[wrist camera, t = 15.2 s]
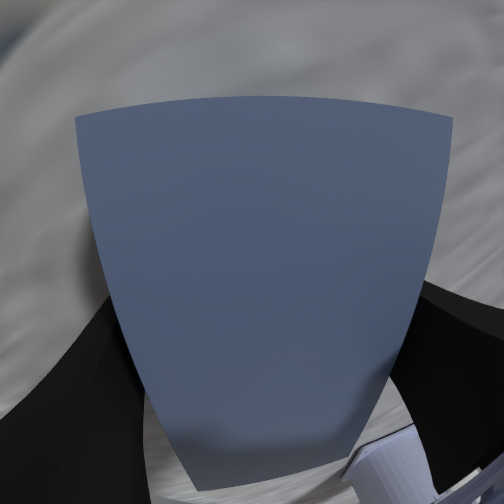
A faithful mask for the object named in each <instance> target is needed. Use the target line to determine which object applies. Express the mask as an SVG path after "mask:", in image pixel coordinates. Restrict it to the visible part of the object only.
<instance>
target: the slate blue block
mask: <svg viewBox="0 0 504 504" xmlns="http://www.w3.org/2000/svg"><path fill="white" fill-rule="evenodd" d="M75 123H76V133H77V142H78V150H79V157H80V164H81V171H82V177H83V183H84V189H85V194H86V199H87V205H88V210H89V214H90V219H91V224H92V228H93V233H94V237H95V241H96V245H97V249H98V253H99V257H100V261H101V265H102V268H103V272H104V275H105V279H106V282H107V286H108V289H109V293H110V296H111V299H112V302H113V305H114V308H115V312H116V315H117V318H118V321H119V323H120V326H121V329H122V332H123V335H124V338H125V340H126V343H127V346H128V349H129V351H130V354H131V356H132V359H133V362H134V364H135V367H136V369H137V372H138V374H139V376H140V379H141V381H142V384H143V386H144V388H145V391H146V393H147V395H148V397H149V400H150V402H151V404H152V406H153V408H154V410H155V413H156V415H157V417H158V419H159V421H160V423H161V425H162V427H163V429H164V431H165V433H166V435H167V437H168V439H169V441H170V443H171V445H172V447H173V449H174V451H175V452H176V454H177V456H178V458H179V460H180V462H181V463H182V465H183V467H184V469H185V471H186V472H187V474H188V476H189V477H190V479H191V481H192V483H193V484H194V486H195V488H196V489H197V491H206V490H214V489H222V488H228V487H234V486H240V485H246V484H251V483H256V482H261V481H266V480H270V479H274V478H279V477H283V476H287V475H291V474H294V473H298V472H302V471H305V470H309V469H312V468H315V467H319V466H322V465H325V464H328V463H331V462H334V461H337V460H340V459H343V458H345V457H348V456H349V454H350V452H351V450H352V449H353V447H354V445H355V443H356V442H357V440H358V438H359V436H360V434H361V433H362V431H363V429H364V427H365V425H366V423H367V421H368V419H369V417H370V415H371V413H372V411H373V409H374V407H375V405H376V403H377V401H378V399H379V397H380V395H381V393H382V391H383V388H384V386H385V384H386V382H387V380H388V377H389V375H390V373H391V370H392V368H393V366H394V363H395V361H396V358H397V356H398V354H399V351H400V349H401V346H402V343H403V341H404V338H405V335H406V333H407V330H408V327H409V325H410V322H411V319H412V316H413V313H414V310H415V307H416V304H417V301H418V298H419V295H420V291H421V288H422V285H423V282H424V278H425V275H426V271H427V267H428V264H429V260H430V256H431V252H432V248H433V244H434V240H435V236H436V231H437V227H438V222H439V217H440V212H441V207H442V202H443V196H444V190H445V184H446V178H447V171H448V164H449V156H450V147H451V137H452V124H453V118H452V117H448V116H444V115H439V114H434V113H429V112H425V111H419V110H414V109H408V108H403V107H396V106H390V105H383V104H376V103H368V102H360V101H350V100H340V99H327V98H312V97H287V96H240V97H216V98H200V99H188V100H177V101H167V102H159V103H151V104H144V105H137V106H130V107H124V108H118V109H112V110H107V111H102V112H97V113H92V114H87V115H82V116H78V117H75Z"/></svg>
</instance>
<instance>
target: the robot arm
mask: <svg viewBox="0 0 504 504" xmlns="http://www.w3.org/2000/svg"><path fill="white" fill-rule="evenodd" d="M389 376H390V378H391V379H392V381H393V382H394V384H395V386H396V387H397V389H398V391H399V393H400V395H401V397H402V399H403V401H404V403H405V405H406V407H407V409H408V411H409V413H410V415H411V418H412V420H413V422H414V424H413V425H411V426H409V427H407V428H405V429H403V430H400V431H398V432H396V433H394V434H392V435H389V436H387V437H385V438H383V439H380V440H378V441H375V442H373V443H371V444H368V445H366V446H364V447H362V448H361V449H360V451H359V452H358V454H357V455H356V457H355V458H354V460H353V462H352V463H351V465H350V466H349V468H348V469H347V471H346V472H345V474H344V475H343V477H342V478H341V482H345V481H347V480H350V482H351V484H352V486H353V488H354V490H355V492H356V494H357V497H358V499H359V501H360V503H361V504H504V309H500V308H496V307H492V306H489V305H485V304H482V303H479V302H476V301H473V300H471V299H468V298H465V297H462V296H460V295H457V294H455V293H452V292H450V291H448V290H445V289H443V288H440V287H438V286H436V285H434V284H431V283H429V282H427V281H425V280H424V282H423V285H422V288H421V291H420V295H419V298H418V301H417V304H416V307H415V310H414V313H413V316H412V319H411V322H410V325H409V327H408V330H407V333H406V335H405V338H404V341H403V343H402V346H401V349H400V351H399V354H398V356H397V358H396V361H395V363H394V366H393V368H392V370H391V373H390V375H389ZM144 394H145V388H144V386H143V384H142V381H141V379H140V376H139V374H138V372H137V369H136V367H135V364H134V362H133V359H132V356H131V354H130V351H129V349H128V346H127V343H126V340H125V338H124V335H123V332H122V329H121V326H120V323H119V321H118V318H117V315H116V312H115V308H114V305H113V302H112V299H111V296H109V297H108V298H107V299H106V301H105V302H104V303H103V304H102V306H101V307H100V308H99V310H98V311H97V313H96V314H95V315H94V317H93V318H92V319H91V321H90V322H89V323H88V325H87V326H86V327H85V329H84V330H83V331H82V333H81V334H80V335H79V337H78V338H77V339H76V341H75V342H74V343H73V344H72V345H71V347H70V348H69V349H68V350H67V352H66V353H65V354H64V355H63V357H62V358H61V359H60V360H59V362H58V363H57V364H56V365H55V366H54V367H53V369H52V370H51V371H50V372H49V373H48V374H47V375H46V377H45V378H44V379H43V380H42V381H41V382H40V383H39V384H38V385H37V386H36V387H35V388H34V389H33V390H32V391H31V392H30V393H29V394H28V395H27V396H26V397H25V398H24V399H23V400H22V401H21V402H19V403H18V404H17V405H16V406H15V407H14V408H13V409H12V410H11V411H10V412H9V413H8V414H7V415H5V416H4V417H3V418H2V419H1V420H0V504H151V500H150V494H149V488H148V482H147V476H146V468H145V460H144V451H143V414H144ZM418 435H419V437H420V439H419V437H418ZM479 467H480V468H481V470H482V471H481V472H480V473H479V474H477V475H476V476H475V477H473V478H472V479H471V480H469V481H468V482H467V483H465V484H464V485H463V486H461V487H460V488H459V489H457V490H456V491H452V492H451V493H449V494H448V495H446V496H445V497H443V496H444V495H445V494H447V493H448V492H450V491H451V489H450V488H451V487H453V486H454V485H456V484H457V483H459V482H460V481H461V480H463V479H464V478H465V477H467V476H468V475H469V474H471V473H472V472H473V471H475V470H476V469H477V468H479ZM480 496H481V497H480ZM441 497H443V498H442V499H440V498H441ZM478 497H480V502H479V503H478V502H477V501H476V499H477V498H478ZM438 499H440V500H439V501H437V500H438ZM435 501H437V502H435ZM434 502H435V503H434Z"/></svg>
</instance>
